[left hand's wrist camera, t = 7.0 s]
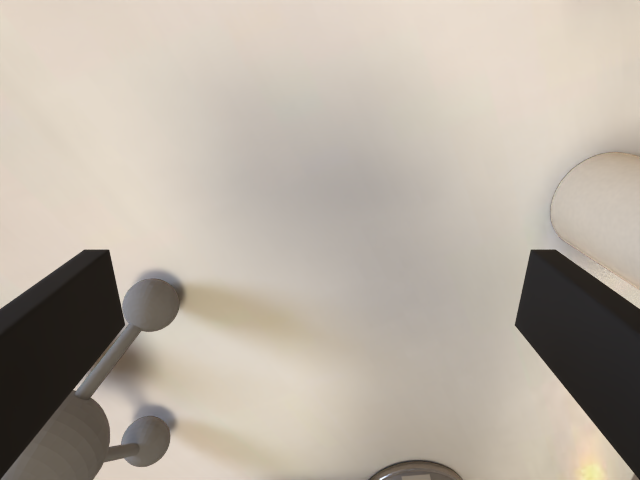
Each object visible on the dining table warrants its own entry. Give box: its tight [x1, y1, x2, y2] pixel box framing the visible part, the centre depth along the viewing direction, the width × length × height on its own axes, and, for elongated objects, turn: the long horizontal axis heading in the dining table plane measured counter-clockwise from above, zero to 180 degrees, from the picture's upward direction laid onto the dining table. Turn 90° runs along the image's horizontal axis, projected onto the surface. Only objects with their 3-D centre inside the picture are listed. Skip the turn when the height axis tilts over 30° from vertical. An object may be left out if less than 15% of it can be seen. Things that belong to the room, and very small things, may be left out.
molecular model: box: [1, 279, 179, 480], centre depth 33 cm, size 24×22×30 cm
